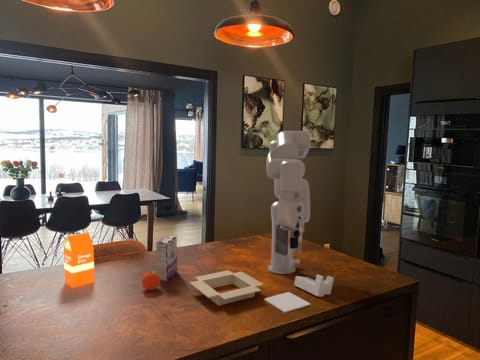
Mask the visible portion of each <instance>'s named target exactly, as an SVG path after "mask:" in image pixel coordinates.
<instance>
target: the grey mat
mask: <svg viewBox="0 0 480 360" xmlns="http://www.w3.org/2000/svg"><path fill="white" fill-rule="evenodd" d="M263 300H264V301H265V302H266V303H268V304H270V305H271V306H273V307H274V308H276V309H278V310H279V311H280V312H282V313H284V314H287V313H289V312H292V311H293V312H294V311H296V310H299V309H302V308H306V307H309V306H311V303H310V302H308V301H306V300H304V299H303V298H301V297H299V296H297V295H295V294H294V293H291V292H290V291H287V292H283V293H280V294H276V295H272V296H269V297H265V298H264V297H263Z"/></svg>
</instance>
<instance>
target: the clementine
mask: <svg viewBox="0 0 480 360" xmlns="http://www.w3.org/2000/svg"><path fill="white" fill-rule="evenodd" d="M158 273H159V272H158ZM160 275H161V274H160ZM160 282H161V281H160V277H159V275H158V274H157V270H156V271H154V270H152V271H148V272H146V273H145V274H144V275H143V277H142V279H141V285H142V287H143V288H144V289H145V290H147V291H153V290H154V291H155V289H157V288H158V287H159V286H160Z"/></svg>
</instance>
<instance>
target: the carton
mask: <svg viewBox="0 0 480 360" xmlns="http://www.w3.org/2000/svg"><path fill="white" fill-rule="evenodd" d="M194 278H195V281H194V280H193V281H189V284H190V285H191V286H193V287H194V288H195V289H197V290H198V291H199V292H200V293H202V294H203V295H204V296H205V297H207V299H209V300H211V301H212V303H214V304H215V305H217V306H223V305H227V304H230V303H235V302H239V301H242V300H246V299H249V298H254V297H255V296H256V295H255V294H256V293H258V292H261V291H262V289H260V288H259V287H260V286H264V283H262V282H261V281H259V280H257V279H255V278H254V277H252V276H250V275H248V274H246V273H245V272H243V271H238V272H233V271H230V270H223V271H217V272H214V273H212V272H211V273H208V274H203V275H199V276H194ZM228 285H234V286H235V287H237V289H234V290H228V291H226V292H225V291H224V292H221V293H220V292H218V291H216V290H215V289H216V288H219V287H224V286H228ZM214 288H215V289H214Z"/></svg>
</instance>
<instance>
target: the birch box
mask: <svg viewBox="0 0 480 360" xmlns="http://www.w3.org/2000/svg"><path fill="white" fill-rule="evenodd" d="M295 232H296V230H294V233H295ZM290 237H292V235H291V229H289V228H286V227H276V244H275V252H277V253H279V254H281V255H284V256H285V255H291V254H293V255H295V254H299V253H302V252H303V251H302V248H303V232H302V233H301V235H300V237H298V248H293V249H291V248H290Z"/></svg>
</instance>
